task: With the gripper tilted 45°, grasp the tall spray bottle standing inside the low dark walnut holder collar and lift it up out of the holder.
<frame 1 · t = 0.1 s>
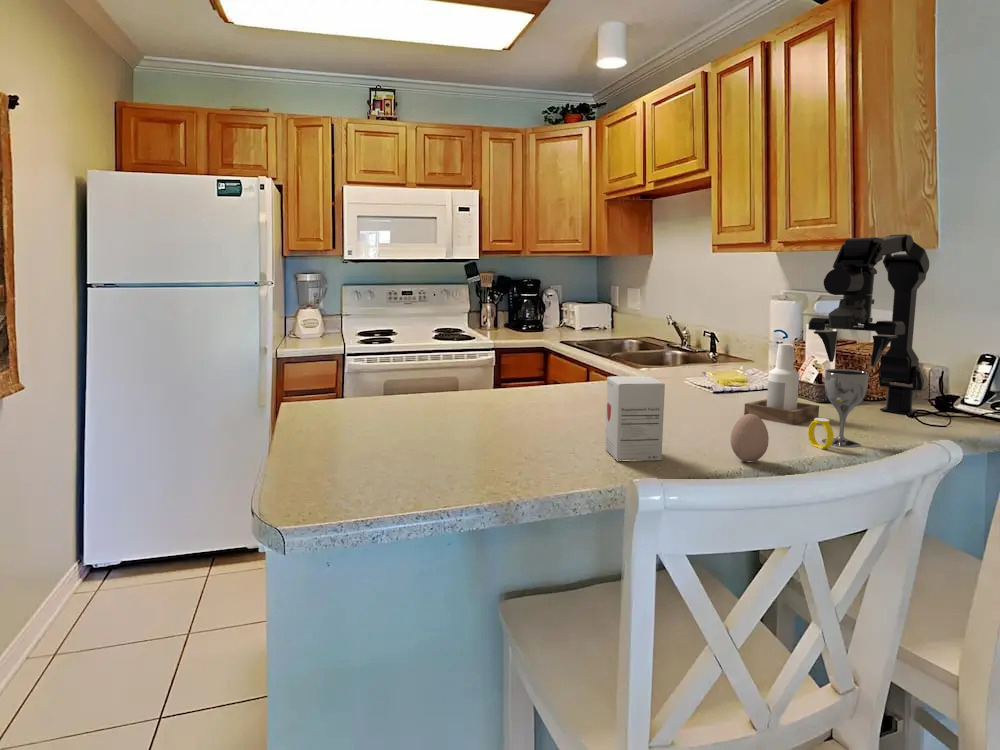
hand: (851, 363, 147), 15 cm above the countertop, tool pointing down, fingers open, 9 cm apart
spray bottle: (780, 417, 160), resting in holder collar
egg: (747, 462, 121), on the countertop
supplement box: (632, 456, 125), on the countertop
holder collar: (780, 416, 160), on the countertop
wine glass: (840, 443, 135), on the countertop
watch: (819, 448, 131), on the countertop
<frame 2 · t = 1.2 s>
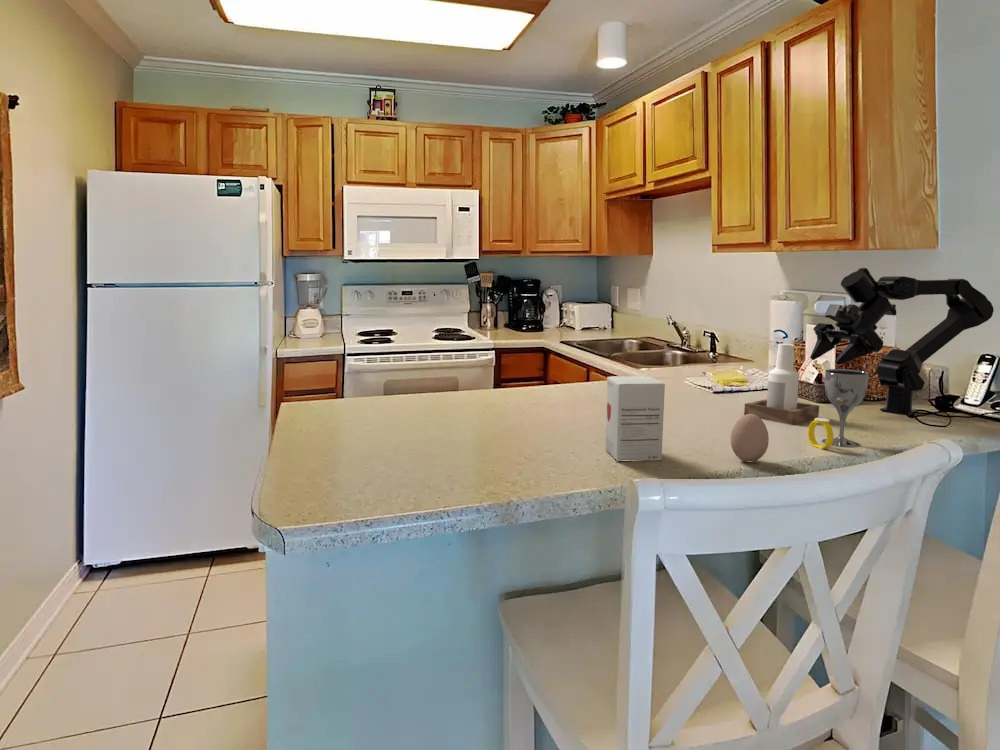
hand: (823, 361, 160), 14 cm above the countertop, tool tilted 45°, fingers open, 9 cm apart
nothing on the countertop moved.
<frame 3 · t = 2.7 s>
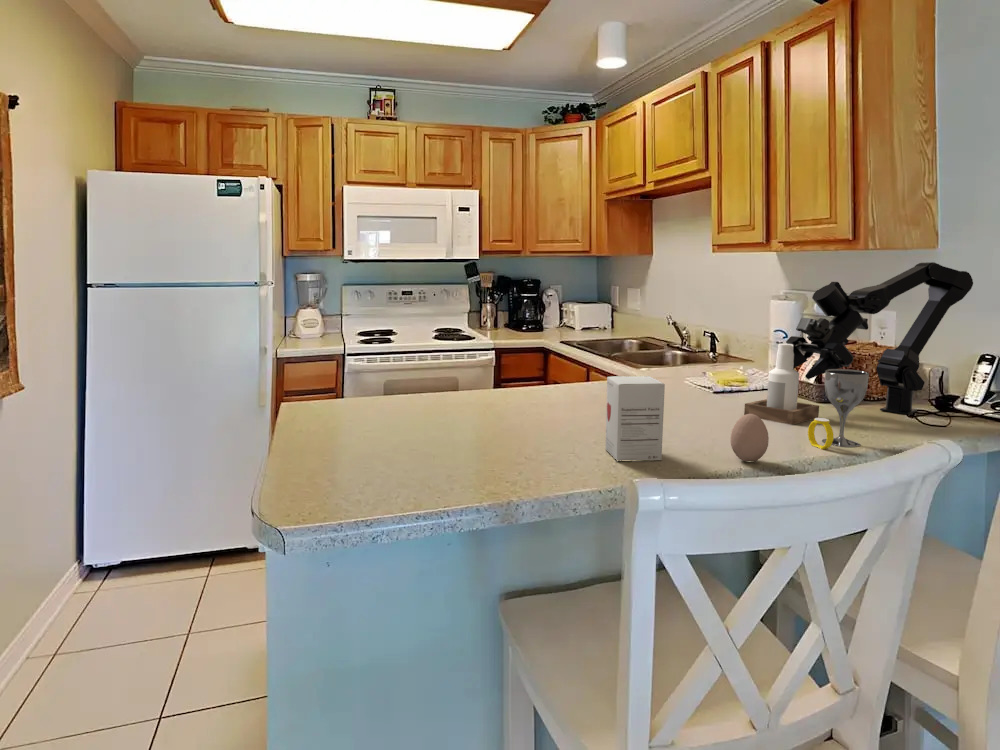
hand: (794, 374, 159), 10 cm above the countertop, tool tilted 45°, fingers open, 9 cm apart
nothing on the countertop moved.
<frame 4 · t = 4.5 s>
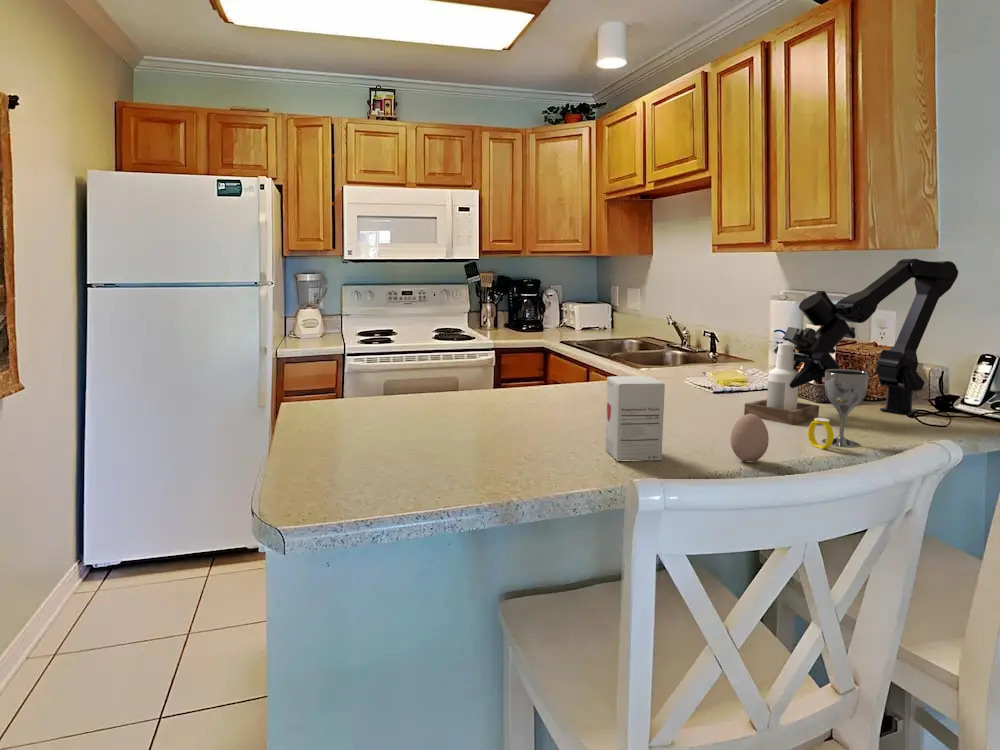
hand: (781, 384, 158), 8 cm above the countertop, tool tilted 45°, fingers closed on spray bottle, 7 cm apart
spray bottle: (780, 417, 160), resting in holder collar, touching gripper
everything else where it was.
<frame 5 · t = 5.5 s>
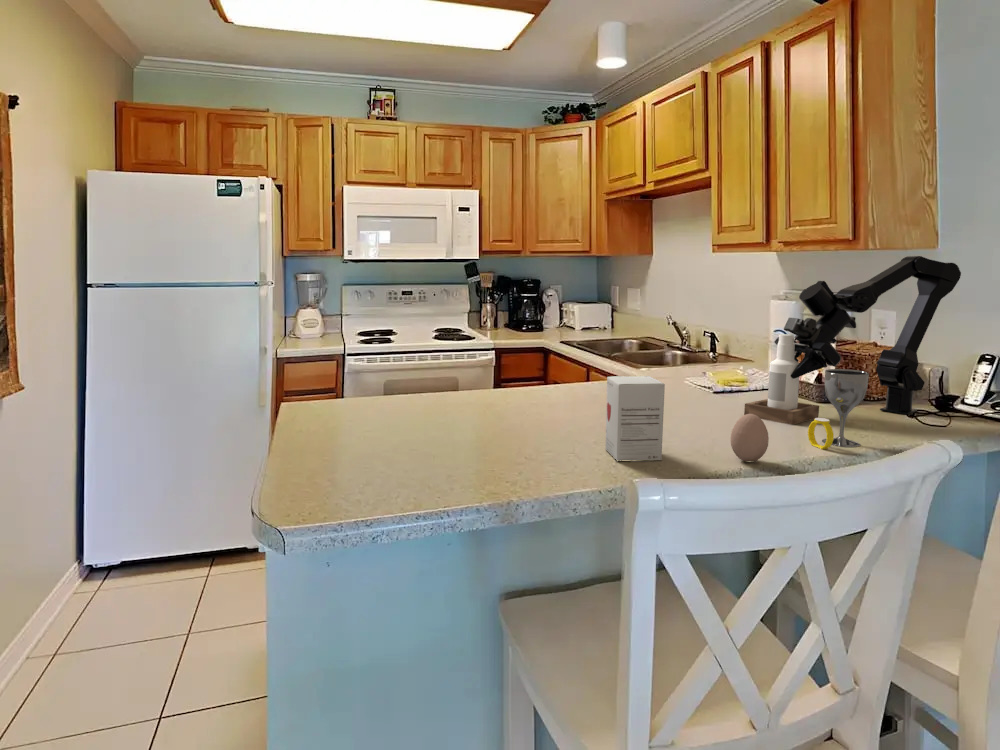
hand: (782, 375, 158), 10 cm above the countertop, tool tilted 45°, fingers closed on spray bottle, 7 cm apart
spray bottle: (782, 408, 159), point 2 cm above the countertop, touching gripper
everything else where it was.
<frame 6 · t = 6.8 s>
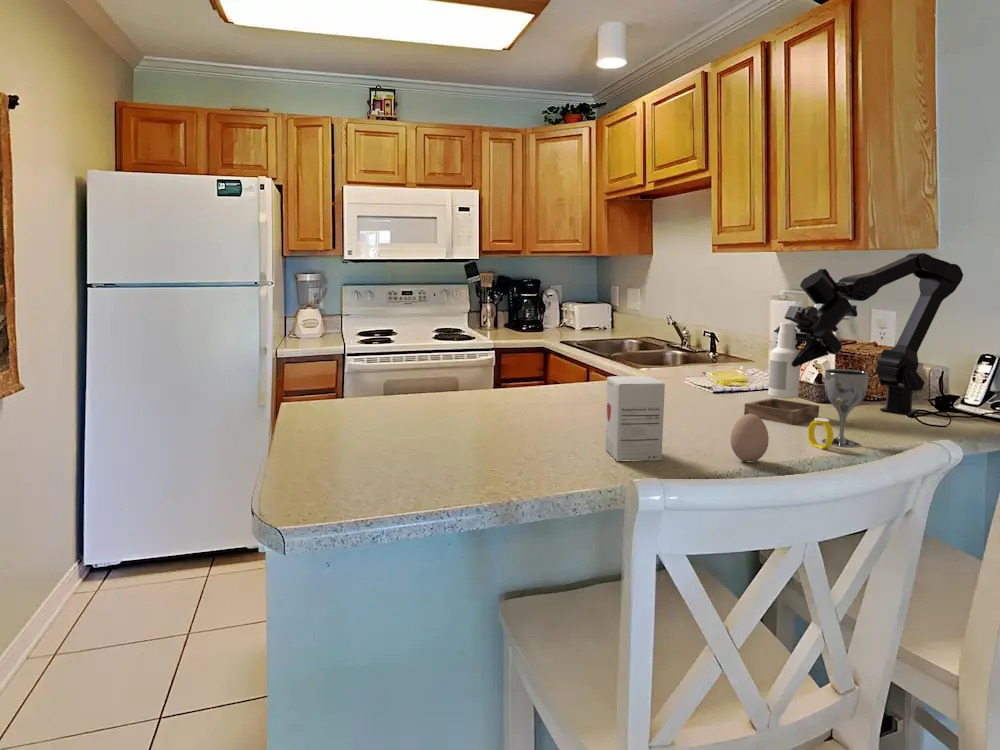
hand: (783, 363, 158), 13 cm above the countertop, tool tilted 45°, fingers closed on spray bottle, 7 cm apart
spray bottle: (783, 397, 159), point 5 cm above the countertop, touching gripper
everything else where it was.
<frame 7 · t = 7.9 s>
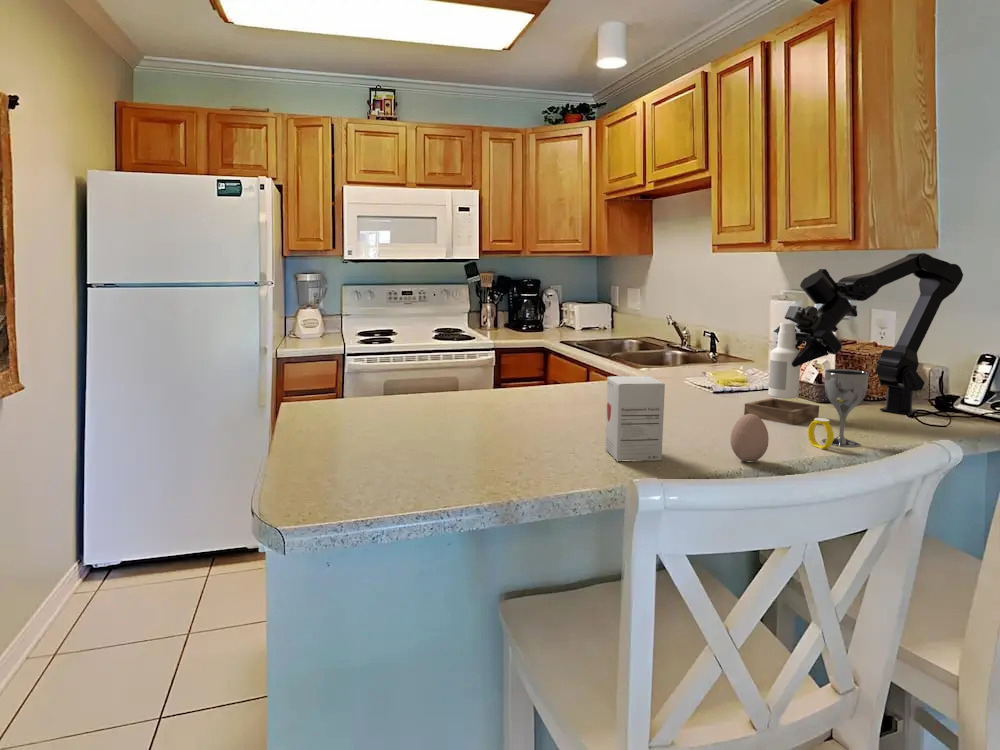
hand: (783, 363, 158), 13 cm above the countertop, tool tilted 45°, fingers closed on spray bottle, 7 cm apart
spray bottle: (783, 397, 159), point 5 cm above the countertop, touching gripper
everything else where it was.
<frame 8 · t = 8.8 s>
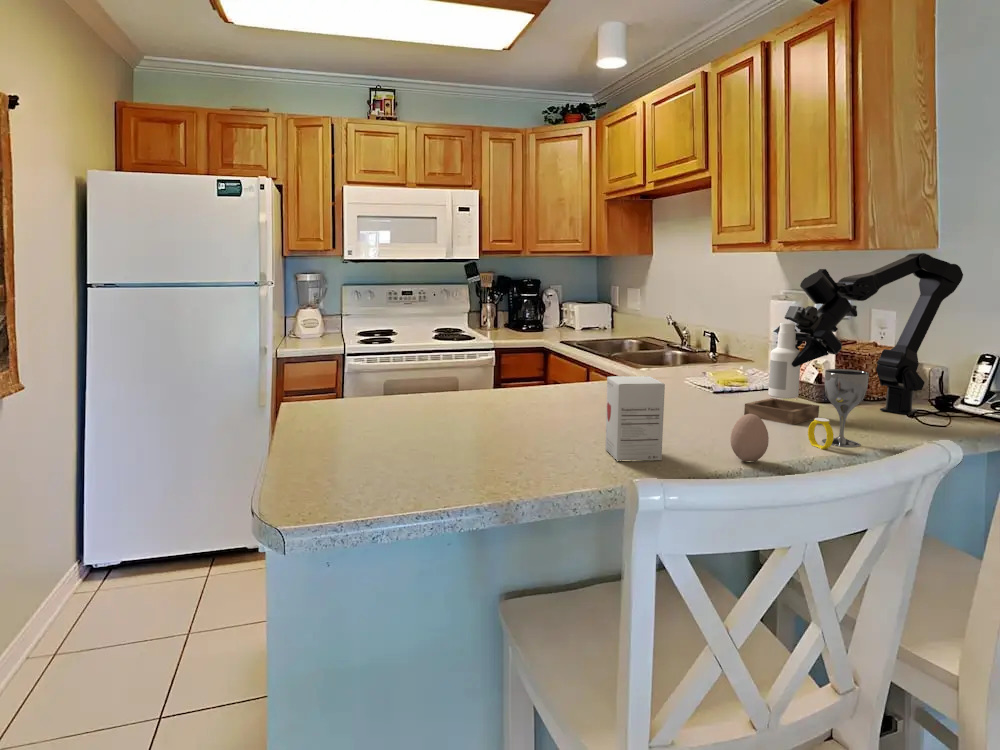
hand: (783, 363, 158), 13 cm above the countertop, tool tilted 45°, fingers closed on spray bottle, 7 cm apart
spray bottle: (783, 397, 159), point 5 cm above the countertop, touching gripper
everything else where it was.
at the end: the gripper is holding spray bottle; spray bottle point 4.9 cm above the countertop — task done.
